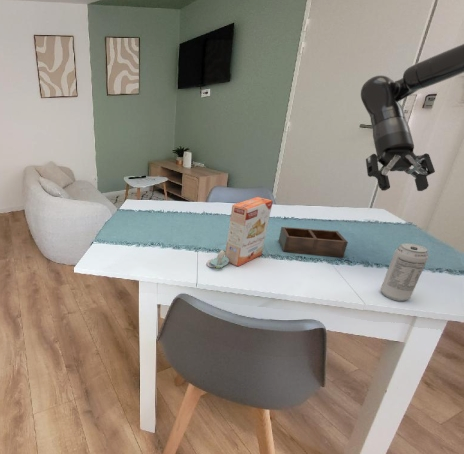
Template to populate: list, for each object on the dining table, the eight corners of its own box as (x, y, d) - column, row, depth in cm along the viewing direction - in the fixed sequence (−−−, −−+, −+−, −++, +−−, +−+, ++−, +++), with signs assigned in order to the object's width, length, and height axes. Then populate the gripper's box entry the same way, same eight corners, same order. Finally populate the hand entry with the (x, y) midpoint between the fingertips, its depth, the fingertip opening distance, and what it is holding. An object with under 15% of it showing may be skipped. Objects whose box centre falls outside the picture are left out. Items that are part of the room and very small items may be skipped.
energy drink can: (409, 295, 80) (431, 246, 74) (408, 305, 76) (431, 255, 70) (380, 286, 84) (398, 240, 78) (378, 296, 80) (397, 248, 74)
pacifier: (202, 266, 100) (218, 272, 95) (203, 249, 97) (220, 255, 93) (214, 258, 104) (230, 264, 99) (215, 242, 101) (232, 248, 97)
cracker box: (238, 267, 97) (248, 209, 89) (223, 260, 102) (230, 204, 94) (263, 255, 104) (273, 199, 95) (247, 249, 108) (256, 195, 100)
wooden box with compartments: (333, 245, 108) (337, 231, 105) (343, 257, 100) (348, 242, 97) (278, 240, 114) (281, 226, 111) (283, 251, 105) (286, 237, 103)
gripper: (372, 130, 81) (384, 183, 76) (433, 129, 78) (449, 183, 74) (355, 145, 88) (364, 195, 83) (410, 145, 85) (423, 195, 81)
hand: (404, 189), depth 78 cm, fingers open, 8 cm apart
